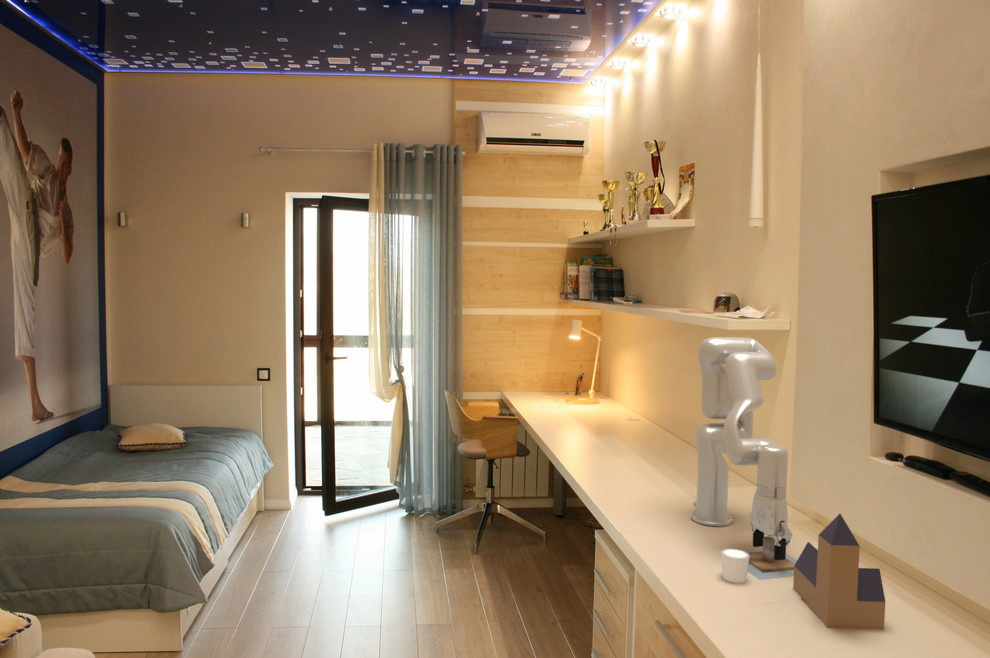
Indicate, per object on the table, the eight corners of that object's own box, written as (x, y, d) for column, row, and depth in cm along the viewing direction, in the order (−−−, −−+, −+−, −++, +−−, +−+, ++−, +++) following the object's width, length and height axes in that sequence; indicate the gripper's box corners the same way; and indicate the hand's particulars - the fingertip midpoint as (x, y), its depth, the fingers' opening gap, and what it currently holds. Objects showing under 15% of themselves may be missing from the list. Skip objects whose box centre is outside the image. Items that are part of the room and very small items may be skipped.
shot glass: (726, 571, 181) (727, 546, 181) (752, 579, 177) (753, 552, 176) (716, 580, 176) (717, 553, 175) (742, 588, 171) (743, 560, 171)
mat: (720, 554, 193) (720, 552, 193) (775, 549, 198) (775, 547, 198) (759, 580, 176) (759, 579, 176) (819, 574, 180) (819, 573, 180)
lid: (738, 556, 191) (739, 532, 190) (773, 553, 193) (774, 529, 193) (763, 572, 180) (764, 547, 180) (799, 569, 183) (800, 544, 182)
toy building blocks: (826, 627, 152) (832, 517, 151) (793, 590, 171) (797, 491, 169) (883, 629, 152) (890, 518, 150) (843, 591, 171) (848, 493, 169)
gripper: (740, 482, 193) (737, 542, 194) (779, 501, 176) (776, 566, 177) (763, 480, 195) (761, 540, 196) (805, 499, 178) (801, 564, 179)
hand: (768, 552), depth 186 cm, fingers open, 8 cm apart
